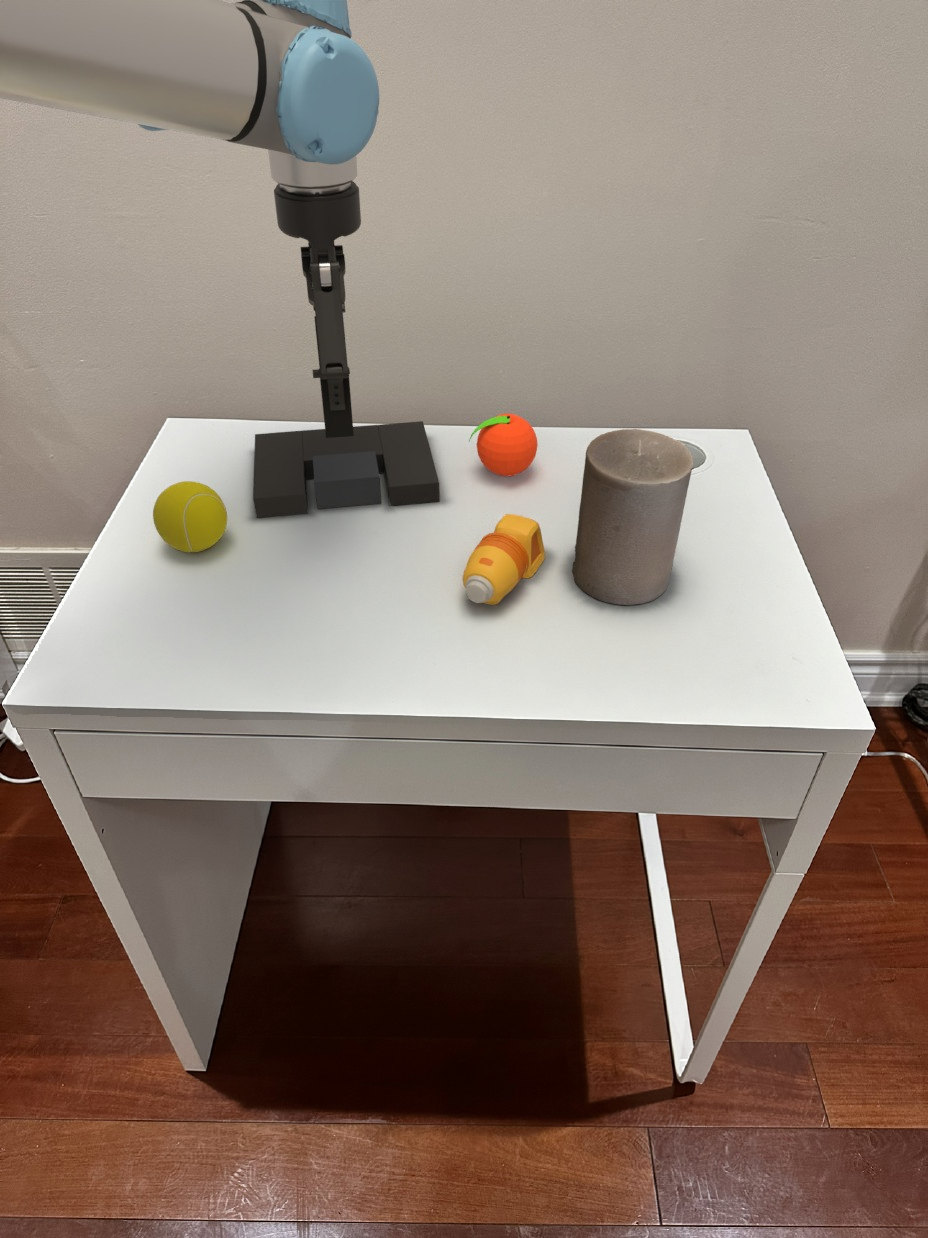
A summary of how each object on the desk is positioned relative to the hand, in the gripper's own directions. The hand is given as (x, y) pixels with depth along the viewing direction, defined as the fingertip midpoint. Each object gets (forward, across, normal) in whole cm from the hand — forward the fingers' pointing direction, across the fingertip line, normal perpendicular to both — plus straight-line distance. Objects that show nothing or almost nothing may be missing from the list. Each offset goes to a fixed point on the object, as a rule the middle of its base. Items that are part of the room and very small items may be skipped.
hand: (336, 403), depth 91 cm
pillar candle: (+11, -19, -26) cm, 34 cm away
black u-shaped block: (+11, +4, 0) cm, 12 cm away
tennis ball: (+11, -7, +16) cm, 21 cm away
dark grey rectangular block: (+11, 0, 0) cm, 11 cm away
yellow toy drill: (+11, -18, -14) cm, 26 cm away
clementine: (+11, +2, -18) cm, 22 cm away
